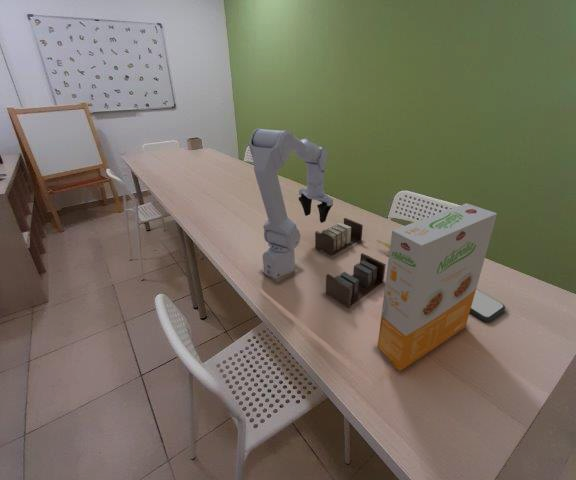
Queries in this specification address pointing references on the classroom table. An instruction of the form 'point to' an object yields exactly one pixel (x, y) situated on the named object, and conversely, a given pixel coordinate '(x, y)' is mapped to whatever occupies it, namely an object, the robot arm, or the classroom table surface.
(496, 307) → the phone case
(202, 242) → the classroom table surface
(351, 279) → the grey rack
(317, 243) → the dark brown rack
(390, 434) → the classroom table surface
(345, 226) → the white book
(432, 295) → the cereal box
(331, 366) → the classroom table surface
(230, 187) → the classroom table surface
